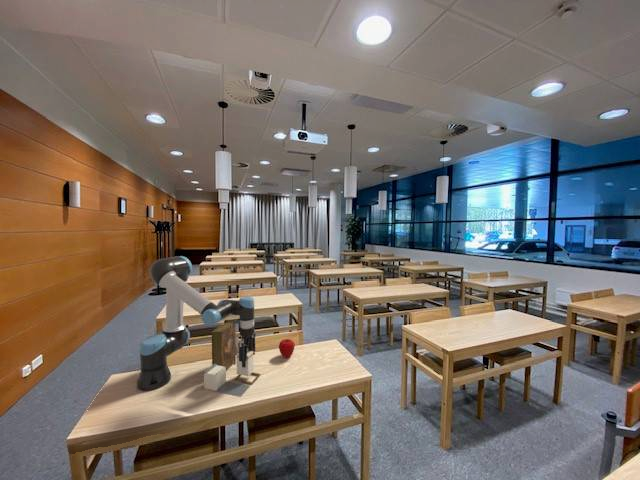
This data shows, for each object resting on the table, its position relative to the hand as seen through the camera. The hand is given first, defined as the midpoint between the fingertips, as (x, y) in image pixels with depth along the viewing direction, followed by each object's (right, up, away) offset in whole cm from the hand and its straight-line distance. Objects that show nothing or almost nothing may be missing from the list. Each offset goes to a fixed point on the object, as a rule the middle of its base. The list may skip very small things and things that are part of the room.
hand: (247, 369), depth 141 cm
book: (-16, -6, +11) cm, 20 cm away
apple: (+18, -5, +27) cm, 32 cm away
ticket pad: (-15, -5, -6) cm, 17 cm away
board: (-9, -6, -8) cm, 13 cm away
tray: (0, -6, 0) cm, 6 cm away
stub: (-1, -2, +1) cm, 3 cm away
